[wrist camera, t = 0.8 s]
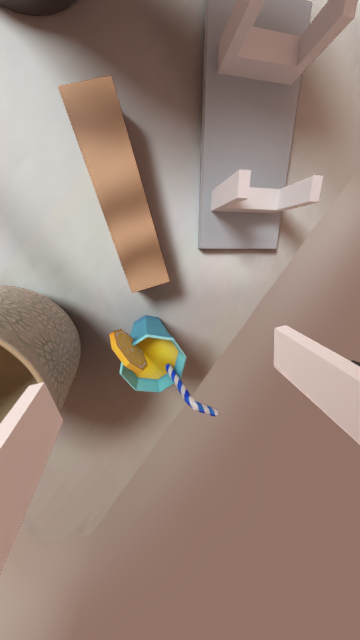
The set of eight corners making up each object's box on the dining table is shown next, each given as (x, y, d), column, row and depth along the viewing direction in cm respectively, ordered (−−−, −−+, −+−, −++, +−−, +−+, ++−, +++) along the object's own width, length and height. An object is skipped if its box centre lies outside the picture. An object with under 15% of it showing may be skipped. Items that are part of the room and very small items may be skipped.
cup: (200, 335, 35) (242, 392, 21) (174, 370, 37) (197, 445, 23) (128, 289, 31) (121, 324, 17) (101, 331, 32) (73, 396, 18)
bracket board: (205, -11, 22) (248, -172, 14) (304, 13, 24) (394, -114, 16) (198, 248, 31) (221, 248, 22) (271, 248, 33) (319, 248, 24)
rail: (73, 117, 24) (57, 86, 19) (116, 108, 24) (111, 75, 20) (132, 286, 31) (131, 293, 26) (164, 276, 31) (169, 281, 27)
